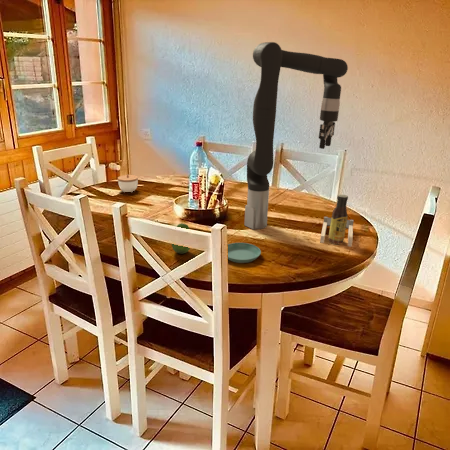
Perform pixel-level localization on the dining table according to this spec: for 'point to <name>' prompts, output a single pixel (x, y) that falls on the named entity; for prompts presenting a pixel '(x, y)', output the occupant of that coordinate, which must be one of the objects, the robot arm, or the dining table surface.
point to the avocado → (180, 248)
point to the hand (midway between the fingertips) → (324, 147)
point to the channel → (350, 232)
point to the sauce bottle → (338, 221)
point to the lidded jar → (128, 183)
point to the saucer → (242, 252)
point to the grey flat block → (330, 222)
